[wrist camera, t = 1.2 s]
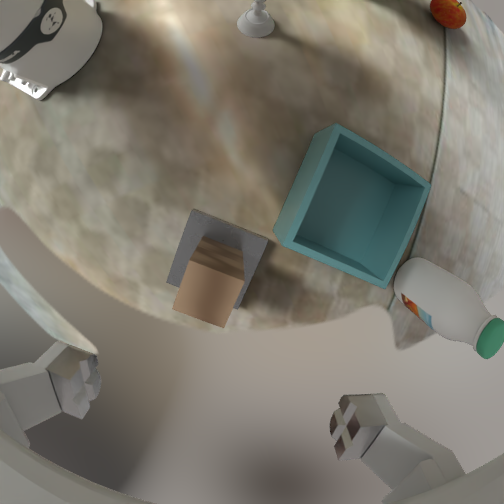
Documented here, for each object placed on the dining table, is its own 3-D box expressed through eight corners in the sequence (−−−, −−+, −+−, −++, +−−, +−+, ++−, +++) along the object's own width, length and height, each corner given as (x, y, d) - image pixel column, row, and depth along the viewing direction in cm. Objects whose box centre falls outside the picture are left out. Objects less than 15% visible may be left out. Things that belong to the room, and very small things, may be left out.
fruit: (453, 39, 27) (479, 27, 19) (424, 21, 26) (449, 5, 19) (449, 15, 25) (472, 2, 18) (421, -2, 25) (443, -19, 17)
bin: (272, 230, 35) (282, 245, 27) (314, 133, 32) (336, 122, 24) (358, 267, 37) (385, 289, 29) (397, 181, 34) (431, 184, 26)
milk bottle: (387, 269, 38) (476, 336, 18) (425, 247, 37) (519, 296, 18) (396, 309, 40) (470, 383, 20) (432, 288, 39) (511, 346, 20)
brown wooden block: (189, 273, 35) (172, 309, 25) (203, 235, 33) (189, 259, 24) (227, 287, 35) (223, 328, 26) (242, 251, 34) (244, 281, 25)
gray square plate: (168, 278, 36) (158, 295, 31) (193, 208, 34) (185, 214, 28) (237, 304, 38) (237, 325, 32) (267, 238, 35) (272, 249, 30)
